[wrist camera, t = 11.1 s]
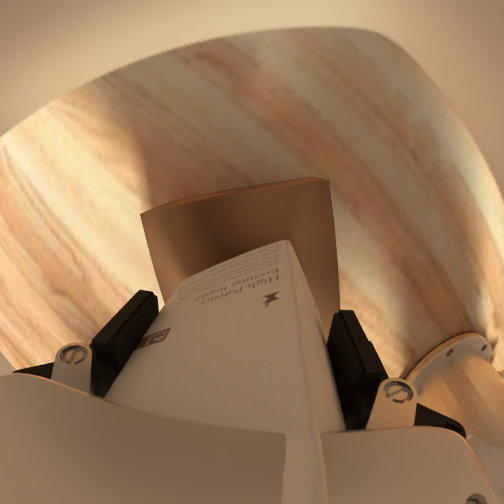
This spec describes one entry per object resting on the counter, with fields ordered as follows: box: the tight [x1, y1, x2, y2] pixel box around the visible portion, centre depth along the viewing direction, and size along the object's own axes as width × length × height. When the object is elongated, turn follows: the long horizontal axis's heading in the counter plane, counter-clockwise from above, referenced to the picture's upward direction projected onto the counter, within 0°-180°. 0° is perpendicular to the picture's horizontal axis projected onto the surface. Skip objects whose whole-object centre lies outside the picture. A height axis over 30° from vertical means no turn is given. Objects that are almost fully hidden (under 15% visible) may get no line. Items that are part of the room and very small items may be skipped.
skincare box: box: [104, 240, 346, 504], centre depth 8 cm, size 6×4×12 cm
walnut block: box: [140, 177, 340, 344], centre depth 17 cm, size 10×10×5 cm
